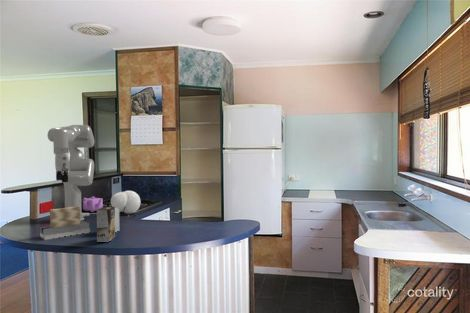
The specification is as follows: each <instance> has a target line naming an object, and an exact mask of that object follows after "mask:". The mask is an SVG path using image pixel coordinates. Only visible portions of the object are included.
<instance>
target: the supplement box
mask: <svg viewBox="0 0 470 313" xmlns="http://www.w3.org/2000/svg"><path fill="white" fill-rule="evenodd" d="M120 230H121V229H120V213H119V209H115V232H116V233H118V232H117V231H119V232H120Z"/></svg>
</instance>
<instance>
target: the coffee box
mask: <svg viewBox="0 0 470 313" xmlns="http://www.w3.org/2000/svg"><path fill="white" fill-rule="evenodd" d="M114 237H115V238H116V233H115V207H112V206H103V207H102V208H100V209H97V210H96V243H97V242H109V241H111V240H112V239H113V238H114ZM115 238H114V239H115ZM114 239H113V240H114ZM113 240H112V241H113ZM112 241H111V242H112ZM109 243H110V242H109Z"/></svg>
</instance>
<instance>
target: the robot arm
mask: <svg viewBox="0 0 470 313" xmlns="http://www.w3.org/2000/svg"><path fill="white" fill-rule="evenodd" d="M47 139H48V140H49V141H50V143H51V142H52V144H53V146H52V147H53V154H54V167H55V181H57V182H58V181H61V183H63V189H64V208H68V207H77V206H78V207H80V222H82V221H84V220H85V217H89V216H90V213H89V212H82V192H81V189H80V188H79V187H87V186H91V185H92V184H93V180H94V174H95V162H94V159H92V158H85V154H84V153H83V152H82V150H80V148H81V149H82V148H87V149H88V148H92V147H94V146H95V137H94V134H93V131H92V128H91V126H90V125H88V124H71V125H67V126H61V127H59V126H58V127H53V128H49V130H48V131H47Z"/></svg>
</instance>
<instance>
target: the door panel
mask: <svg viewBox="0 0 470 313" xmlns="http://www.w3.org/2000/svg"><path fill="white" fill-rule="evenodd" d="M80 222H81V221H80V207H78V206H77V207H68V208H65V207H63V208H62V207H61V208H52V209H49V226H50V228H56V227H62V226H69V225H76V224H80Z"/></svg>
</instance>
